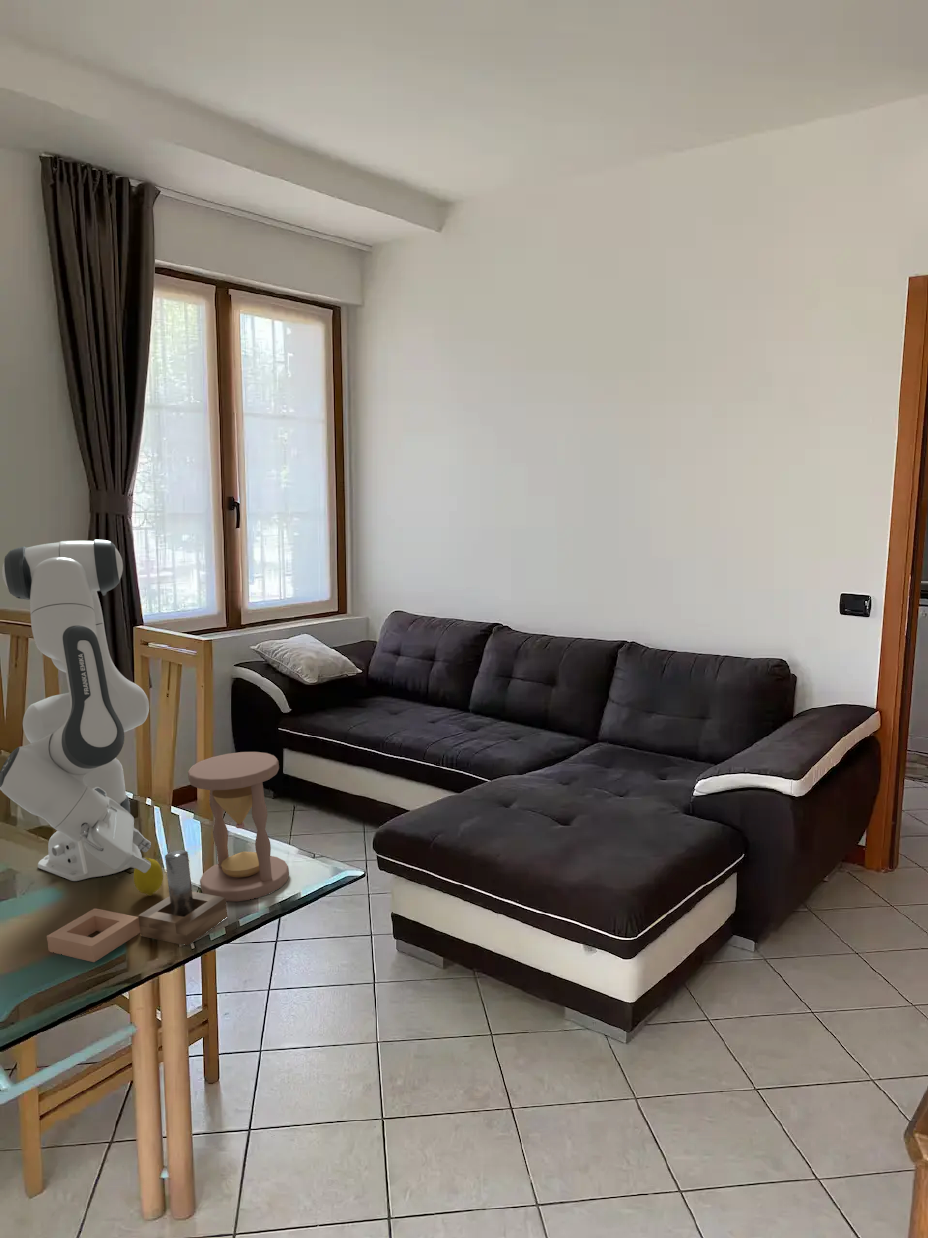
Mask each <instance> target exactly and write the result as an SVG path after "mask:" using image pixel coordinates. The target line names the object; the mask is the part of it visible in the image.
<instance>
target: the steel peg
mask: <svg viewBox="0 0 928 1238" xmlns="http://www.w3.org/2000/svg"><path fill="white" fill-rule="evenodd" d="M188 853H189V852H188V851H187V850H184V849H183V850H182V849H181V850H179V849H178V850H173V851H171V852H168V853H166V854H165V856H164V859H165V868H166V876H167V878H166V879H167V884H168V885H167V886H168V895H169V896H170V904H171V913H172V915H177V916H182V917H185V916H186V915H188V914H189V913H191V912H192V911H194V904H193V895H192V892H193V889H192V881H191V880H192V879H191V870H190V868H191V867H190V860H189V854H188Z"/></svg>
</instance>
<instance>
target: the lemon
mask: <svg viewBox="0 0 928 1238" xmlns="http://www.w3.org/2000/svg"><path fill="white" fill-rule="evenodd" d="M144 858H145V859H147V860H148V861H150V863H151V867H150V869H149V870H148V871H147V872H146V873H143V872H142V871H140V870H138V869H136V868H133V869H134V870H133V883H134V886H135V887H136V889H137V890H138V891H139V892H140V893H142V894H146V895H148V896H153V894H154V893H155V892H157V891H159V889H160V888H161V886H162V884H163V880H164V872H163V870H162V866H161V863H159V862H158V861H157V860H156V859H154V858H151V857H150V858H149V857H147V856H145V857H144Z"/></svg>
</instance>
